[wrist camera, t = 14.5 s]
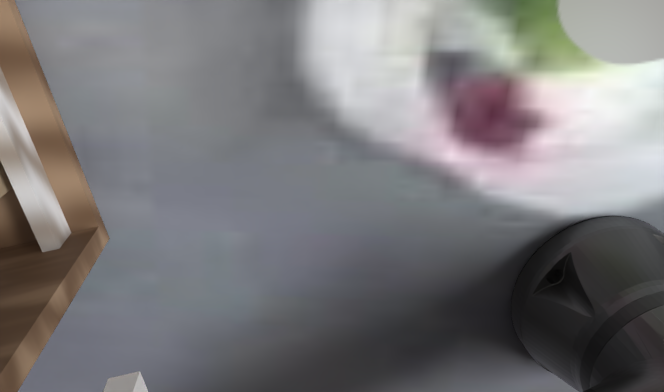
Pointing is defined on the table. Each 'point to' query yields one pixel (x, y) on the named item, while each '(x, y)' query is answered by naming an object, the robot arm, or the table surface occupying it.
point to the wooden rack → (37, 208)
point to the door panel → (4, 181)
